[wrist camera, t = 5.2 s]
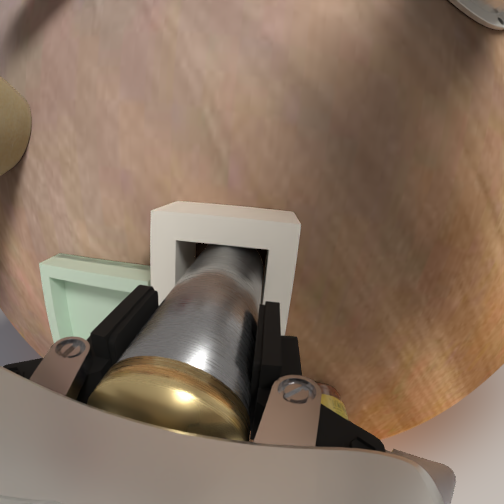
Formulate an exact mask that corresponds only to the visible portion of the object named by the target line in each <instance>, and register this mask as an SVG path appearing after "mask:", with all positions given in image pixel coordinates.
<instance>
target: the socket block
mask: <svg viewBox="0 0 504 504" xmlns="http://www.w3.org/2000/svg"><path fill="white" fill-rule="evenodd" d="M300 231H301V223H300V222H299V220H298V218H297V217H296V215H295V214H294V212H292V211H283V210H274V209H264V208H255V207H244V206H234V205H223V204H211V203H199V202H185V201H176V202H173V203H170V204H168V205H165V206H162V207H159V208H156V209H154V210H151V229H150V271H151V286H152V287H153V288H154V290H155V291H157V292H158V304H159V305H160V304H161V303H162V302H163V300H164V299H165V298H166V296H167V295H168V294H169V293H170V291H171V290H172V289H173V287H174V286H175V285H176V284H177V282H178V281H179V280H180V279H181V277H182V276H183V275H184V274H185V272H186V271H187V270H188V269H189V267H190V266H191V265H192V264H193V262H194V261H195V254H196V242H199V243H209V244H219V245H228V246H238V247H248V248H257V249H267V253H266V262H265V270H264V279H263V288H262V297H261V303H260V304H263V305H265V301H270V302H279V303H280V324H281V335H283V336H285V331H286V325H287V319H288V313H289V307H290V301H291V294H292V288H293V281H294V274H295V267H296V260H297V253H298V246H299V238H300Z"/></svg>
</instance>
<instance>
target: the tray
mask: <svg viewBox="0 0 504 504" xmlns="http://www.w3.org/2000/svg"><path fill="white" fill-rule="evenodd" d="M39 266H40V274H41V281H42V288H43V294H44V299H45V305H46V310H47V315H48V320H49V324H50V329H51V333H52V337H53V341H54V343H55V342H56V341H58V340H60V339H62V338H65V337H71V336H73V337H80V338H83V339H85V340H87V339H88V337H89V336H90V333H91V332H92V331H93V330H94V329H95V328H96V327H97V326H98V325H99V324H100V323H101V322H102V321H103V320H104V319H105V318H106V317H107V316H108V315H109V314H110V313H111V312H112V311H113V310H114V309H115V308H116V307H117V306H118V305H119V304H120V303H121V302H122V301H123V300H124V299H125V298H126V297H127V296H128V295H129V294H130V293H131V292H132V291H133V290H134V289H135V288H136V287H137V286H138V285H146V286H151V271H150V266H148V265H140V264H133V263H125V262H118V261H111V260H103V259H96V258H89V257H82V256H75V255H69V254H62V253H59V254H57V255H55V256H53V257H51V258H49V259H47V260H45V261H43V262H41V263H39Z"/></svg>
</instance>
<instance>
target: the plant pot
mask: <svg viewBox="0 0 504 504" xmlns="http://www.w3.org/2000/svg"><path fill="white" fill-rule="evenodd" d="M30 132H31V111H30V107H29V104H28V103H27V101H26V100H25V99H24V98H23V97H22V96H21V95H20V94H19V93H18V92H17V91H16V90H15V89H14V88H13V87H12V86H11V85H10V84H9V83H8V82H6V81H5V80H4V79H3V78H2V77H1V76H0V176H1V175H2V174H4V173H5V172H7V171H8V170H10V169H11V168H13V167H14V166H15V165H16V164H17V163H18V162H19V160H20V159H21V157H22V156H23V154H24V152H25V149H26V147H27V144H28V141H29V137H30Z"/></svg>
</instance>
